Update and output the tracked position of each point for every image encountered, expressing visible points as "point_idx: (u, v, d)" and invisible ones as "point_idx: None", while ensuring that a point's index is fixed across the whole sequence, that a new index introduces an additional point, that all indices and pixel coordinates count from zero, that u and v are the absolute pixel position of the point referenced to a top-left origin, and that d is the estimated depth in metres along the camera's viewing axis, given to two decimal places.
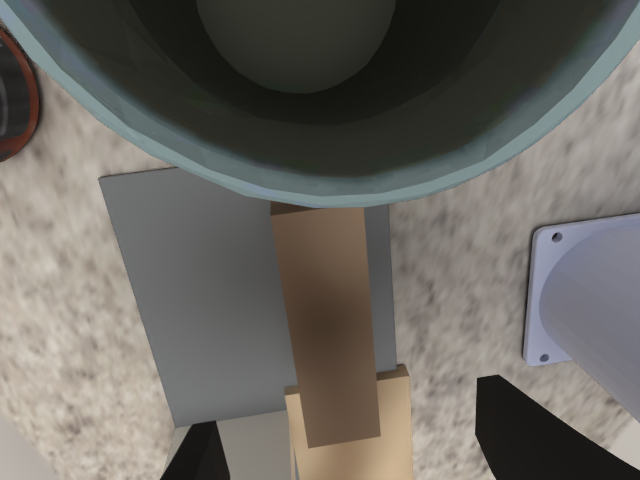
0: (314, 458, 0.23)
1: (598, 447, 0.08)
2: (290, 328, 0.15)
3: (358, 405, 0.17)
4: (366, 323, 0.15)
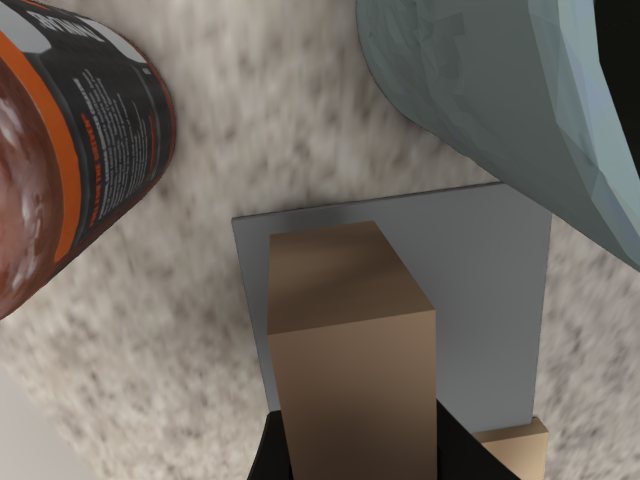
0: None
1: (499, 464, 0.08)
2: None
3: None
4: None
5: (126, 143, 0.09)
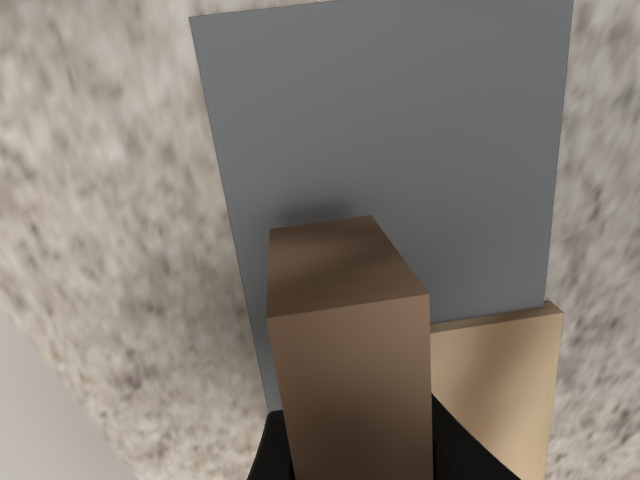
0: None
1: (499, 464, 0.08)
2: None
3: None
4: (423, 476, 0.09)
5: None
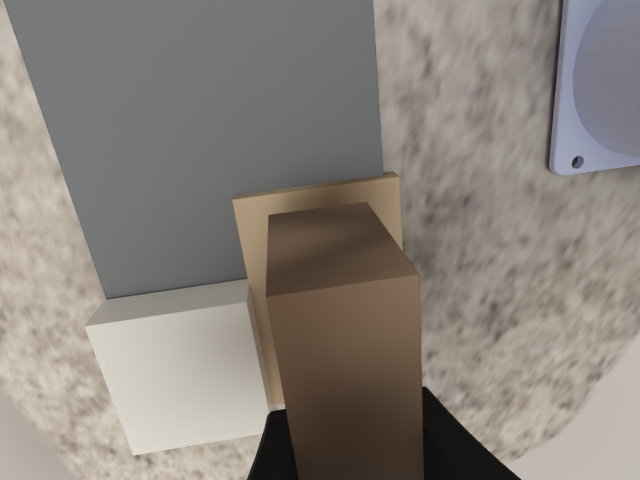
0: None
1: (499, 464, 0.08)
2: (297, 457, 0.10)
3: None
4: (414, 447, 0.10)
5: None
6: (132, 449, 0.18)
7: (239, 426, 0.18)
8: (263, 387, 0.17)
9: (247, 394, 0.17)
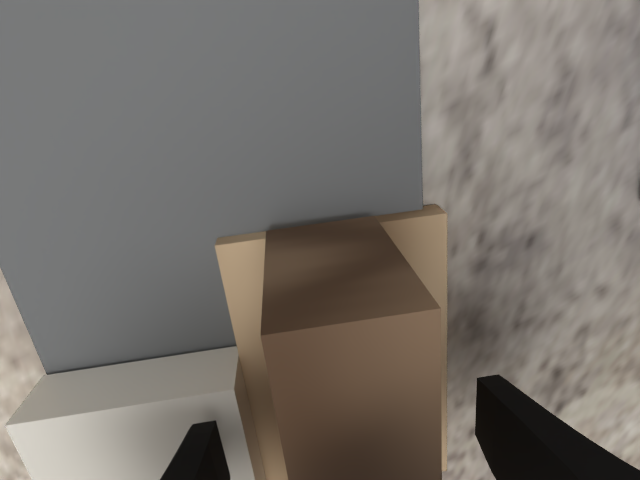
0: None
1: (598, 447, 0.08)
2: None
3: None
4: None
5: None
6: None
7: None
8: None
9: None
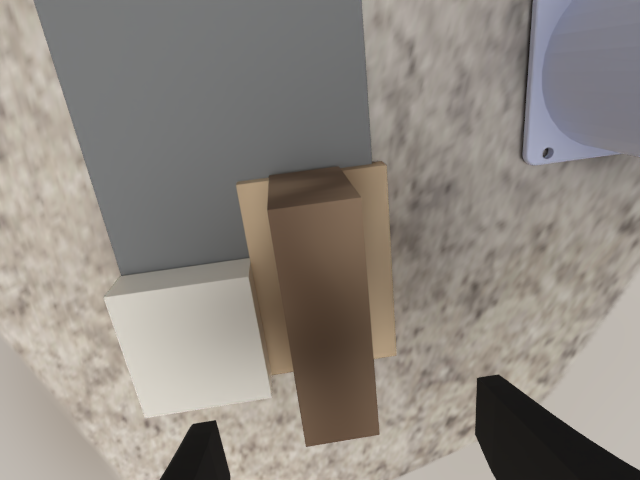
0: (275, 277, 0.20)
1: (598, 447, 0.08)
2: (287, 325, 0.15)
3: (357, 403, 0.16)
4: (364, 319, 0.15)
5: None
6: (144, 412, 0.20)
7: (241, 392, 0.20)
8: (263, 356, 0.19)
9: (248, 362, 0.19)
